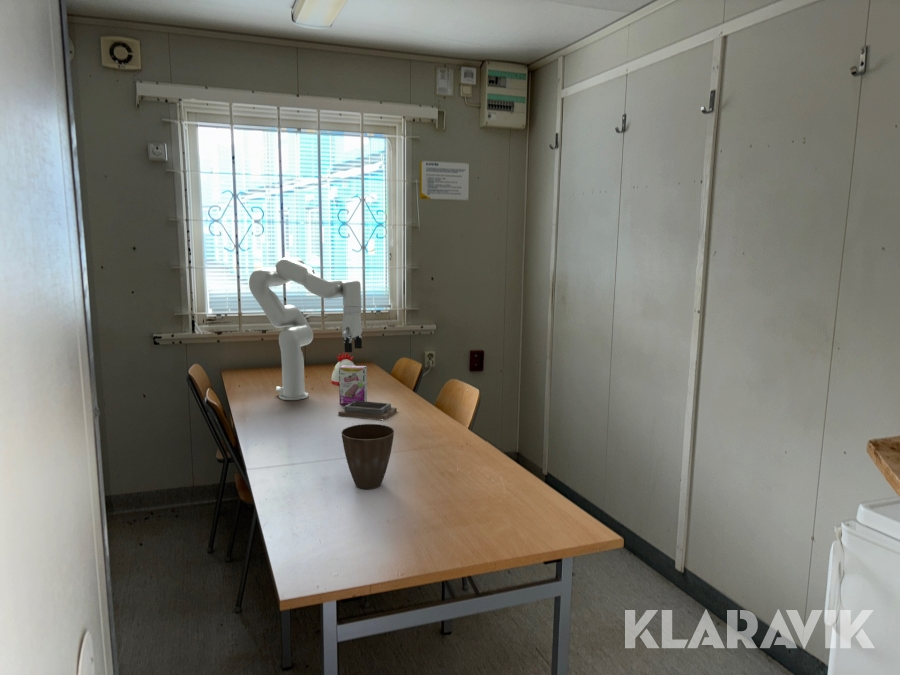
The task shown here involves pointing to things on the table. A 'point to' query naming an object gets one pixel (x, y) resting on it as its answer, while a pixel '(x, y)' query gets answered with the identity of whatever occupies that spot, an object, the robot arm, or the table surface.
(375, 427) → the plant pot
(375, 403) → the stand
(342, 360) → the kitchen timer
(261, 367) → the table surface
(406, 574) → the table surface
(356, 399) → the candy bar box
